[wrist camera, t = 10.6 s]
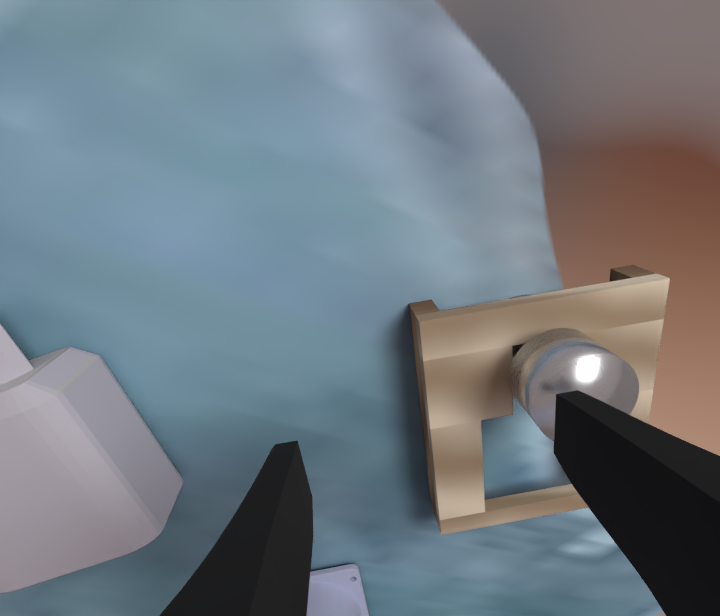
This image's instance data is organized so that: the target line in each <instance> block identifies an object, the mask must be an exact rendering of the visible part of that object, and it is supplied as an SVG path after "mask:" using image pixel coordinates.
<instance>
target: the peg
mask: <svg viewBox="0 0 720 616" xmlns="http://www.w3.org/2000/svg"><path fill="white" fill-rule="evenodd" d="M525 296H530V295H521V296H517V297H513V298H519V297H525ZM513 298H510V299H513ZM508 380H509V386H510V389H511V391H512V393H513V395H514V396H515V398H516V399H517V400H518V402H519V403H520V404H521V405H522V407H523V408H524V409H525V410H526V412H527V413H528V414H529V416H530V417H531V418H532V419H533V421H534V422H535V423H536V424H537V426H538V427H539V428H540V430H541V431H542V432H543V433H544V434H545V435H546V436H547V437H548V438H550V439H551V440H553V441H554V433H555V408H556V394H559V393H565V392H570V391H576V390H578V391H581V392H583V393H585V394H588V395H590V396H592V397H594V398H596V399H598V400H600V401H602V402H604V403H606V404H609V405H611V406H613V407H615V408H617V409H619V410H621V411H623V412H625V413H627V414H629V415H630V414H631V412H632V411H633V409H634V407H635V405H636V402H637V399H638V395H639V381H638V377H637V375H636V373H635V371H634V369H633V368H632V367H631V366H630V365H629V364H628V363H627V362H625V361H624V360H623V359H621V358H620V357H618V356H617V355H615V354H614V353H612V352H611V351H610V350H608V349H607V348H605V347H604V346H602V345H601V344H599V343H598V342H597V341H595V340H594V339H592V338H591V337H589V336H588V335H586V334H585V333H583V332H581V331H579V330H576V329H572V328H556V329H551V330H548V331H545V332H542V333H540V334H538V335H536V336H535V337H533V338H532V339H530V340H529V341H528V342H527V343H524V344H519V345H513V346H512V363H511V366H510V369H509V378H508Z"/></svg>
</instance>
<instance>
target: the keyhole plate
mask: <svg viewBox="0 0 720 616" xmlns="http://www.w3.org/2000/svg"><path fill="white" fill-rule="evenodd" d="M669 281H670V279H669V278H667V277H665V276H661V275H659V274H656V273H654V272H651V271H648V270H645V269H642V268H640V267H637V266H634V265H631V266H625V267H619V268H613V269H611V273H610V282H605V283H600V284H594V285H588V286H583V287H577V288H571V289H565V290H559V291H553V292H548V293H542V294H536V295H530V296H525V297H519V298H513V299H507V300H501V301H496V302H490V303H484V304H478V305H473V306H467V307H461V308H455V309H450V310H444V311H439V309H438V308H437V306H436V305H435V304H434V302H433V301H432V300H427V301H422V302H416V303H410V304H409V309H410V318H411V327H412V336H413V345H414V354H415V363H416V371H417V380H418V389H419V398H420V407H421V416H422V425H423V434H424V443H425V452H426V461H427V469H428V478H429V487H430V496H431V503H432V506H433V510H434V513H435V516H436V519H437V523H438V526H439V529H440V532H441V535H443V534H449V533H454V532H459V531H465V530H470V529H475V528H481V527H486V526H491V525H497V524H502V523H507V522H513V521H518V520H524V519H529V518H534V517H540V516H545V515H550V514H556V513H561V512H566V511H572V510H577V509H582V508H588V506H587V504H586V503H585V502H584V500H583V499H582V498H581V496H580V495H579V494H578V492H577V491H576V489H575V488H574V487H573V485H572V484H568V485H563V486H557V487H552V488H547V489H541V490H536V491H530V492H525V493H520V494H514V495H509V496H503V497H498V498H493V499H487V500H485V499H484V476H483V453H482V431H481V420H486V419H491V418H497V417H502V416H508V415H513V393H512V391H511V389H510V386H509V380H508V378H509V369H510V366H511V363H512V346H513V345H519V344H524V343H527V342H528V341H529V340H530V339H532V338H533V337H535V336H536V335H538V334H540V333H542V332H545V331H548V330H551V329H556V328H572V329H576V330H579V331H581V332H583V333H585V334H586V335H588V336H589V337H591V338H592V339H594V340H595V341H597V342H598V343H599V344H601V345H602V346H604V347H605V348H607V349H608V350H610V351H611V352H612V353H614V354H615V355H617V356H618V357H620V358H621V359H623V360H624V361H625V362H627V363H628V364H629V365H630V366H631V367H632V368H633V369H634V371H635V373H636V375H637V377H638V381H639V395H638V399H637V402H636V405H635V407H634V409H633V411H632V412H631V414H630V415H631V416H633V417H635V418H637V419H639V420H641V421H643V422H645V423H647V424H648V421H649V415H650V408H651V401H652V394H653V387H654V381H655V374H656V368H657V361H658V354H659V347H660V341H661V334H662V327H663V321H664V314H665V307H666V300H667V294H668V287H669Z"/></svg>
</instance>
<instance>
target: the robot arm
mask: <svg viewBox="0 0 720 616" xmlns="http://www.w3.org/2000/svg"><path fill="white" fill-rule="evenodd" d="M554 454H555V456H556V457H557V459H558V461H559V463H560V465H561V466H562V468H563V470H564V472H565V473H566V475H567V477H568V478H569V480H570V482H571V483H572V485H573V487H574V488H575V489H576V491H577V492H578V494H579V495H580V496H581V498H582V499H583V500H584V502H585V503H586V504H587V506H588V507H589V508H590V510H591V511H592V512H593V514H594V515H595V516H596V518H597V519H598V520H599V522H600V523H601V524H602V526H603V527H604V528H605V530H606V531H607V532H608V533H609V535H610V536H611V537H612V539H613V540H614V541H615V543H616V544H617V545H618V547H619V548H620V549H621V551H622V552H623V553H624V555H625V556H626V557H627V558H628V560H629V561H630V562H631V564H632V565H633V566H634V568H635V569H636V571H637V572H638V573H639V575H640V576H641V578H642V579H643V580H644V582H645V583H646V585H647V586H648V588H649V589H650V591H651V592H652V594H653V595H654V597H655V599H656V600H657V602H658V603H659V605H660V606H661V608H662V610H663V611H664V613H665V614H666V616H720V456H718V455H716V454H713V453H711V452H709V451H707V450H704V449H702V448H700V447H697V446H695V445H693V444H690V443H688V442H686V441H684V440H681V439H679V438H677V437H675V436H672V435H670V434H668V433H666V432H664V431H662V430H660V429H657V428H656V427H654V426H651V425H649V424H647V423H645V422H643V421H641V420H639V419H637V418H635V417H633V416H631V415H629V414H627V413H625V412H623V411H621V410H619V409H617V408H615V407H613V406H611V405H609V404H606V403H604V402H602V401H600V400H598V399H596V398H594V397H592V396H590V395H588V394H585V393H583V392H581V391H578V390H576V391H570V392H565V393H559V394H556V408H555V433H554ZM312 543H313V509H312V494H311V491H310V487H309V483H308V479H307V475H306V472H305V468H304V464H303V460H302V456H301V452H300V449H299V445H298V441H292V442H287V443H281V444H276V445H275V446H274V447H273V448H272V450H271V452H270V454H269V455H268V457H267V459H266V461H265V463H264V465H263V467H262V469H261V470H260V472H259V474H258V476H257V478H256V479H255V481H254V483H253V485H252V487H251V488H250V490H249V492H248V493H247V495H246V497H245V498H244V500H243V502H242V503H241V505H240V507H239V508H238V510H237V512H236V513H235V515H234V516H233V518H232V519H231V521H230V523H229V524H228V526H227V527H226V529H225V530H224V532H223V533H222V535H221V536H220V538H219V539H218V541H217V542H216V544H215V545H214V547H213V548H212V549H211V551H210V552H209V554H208V555H207V556H206V558H205V559H204V561H203V562H202V563H201V565H200V566H199V567H198V569H197V570H196V571H195V573H194V574H193V575H192V576H191V578H190V579H189V580H188V582H187V583H186V584H185V586H184V587H183V588H182V589H181V591H180V592H179V593H178V594H177V595H176V597H175V598H174V599H173V600H172V601H171V603H170V604H169V605H168V606H167V607H166V609H165V610H164V611H163V612H162V613H161V614H160V616H369V613H368V608H367V604H366V599H365V595H364V590H363V586H362V581H361V577H360V572H359V568H358V566H357V565H355V564H348V565H343V566H338V567H332V568H327V569H322V570H316V571H311V572H310V569H311V556H312Z"/></svg>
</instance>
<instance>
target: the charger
mask: <svg viewBox="0 0 720 616" xmlns="http://www.w3.org/2000/svg"><path fill="white" fill-rule="evenodd" d="M182 484H183V479H182V477H181V476H180V474H179V473H178V471H177V470H176V468H175V467H174V465H173V464H172V462H171V461H170V459H169V458H168V456H167V455H166V453H165V452H164V450H163V449H162V447H161V446H160V444H159V443H158V441H157V440H156V438H155V437H154V435H153V434H152V432H151V431H150V429H149V428H148V426H147V425H146V423H145V422H144V420H143V419H142V417H141V416H140V414H139V413H138V412H137V410H136V409H135V407H134V406H133V404H132V403H131V401H130V400H129V398H128V397H127V395H126V394H125V392H124V391H123V389H122V388H121V386H120V385H119V383H118V382H117V380H116V379H115V377H114V376H113V374H112V373H111V371H110V370H109V368H108V367H107V365H106V364H105V362H104V361H103V359H102V358H101V356H100V355H97V354H93V353H90V352H86V351H83V350H79V349H76V348H72V347H66V348H63V349H60V350H57V351H54V352H51V353H48V354H45V355H42V356H39V357H37V358H34V359H31V360H28V359H27V358H26V356H25V355H24V354H23V352H22V351H21V350H20V348H19V347H18V346H17V344H16V343H15V342H14V340H13V339H12V338H11V336H10V335H9V334H8V332H7V331H6V330H5V328H4V327H3V326H2V324H1V323H0V593H7V592H11V591H15V590H18V589H21V588H25V587H28V586H31V585H34V584H37V583H40V582H43V581H46V580H49V579H52V578H56V577H59V576H62V575H65V574H68V573H71V572H74V571H77V570H80V569H83V568H87V567H90V566H93V565H96V564H99V563H102V562H105V561H108V560H111V559H114V558H118V557H121V556H124V555H126V554H129V553H131V552H134V551H136V550H138V549H140V548H142V547H144V546H145V545H147V544H148V543H150V542H151V541H153V540H154V539H155V538H156V537H157V536H159V535H160V533H161V532H162V531H163V529H164V527H165V524H166V522H167V520H168V517H169V515H170V513H171V510H172V508H173V506H174V503H175V501H176V499H177V496H178V494H179V492H180V489H181V487H182Z"/></svg>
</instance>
